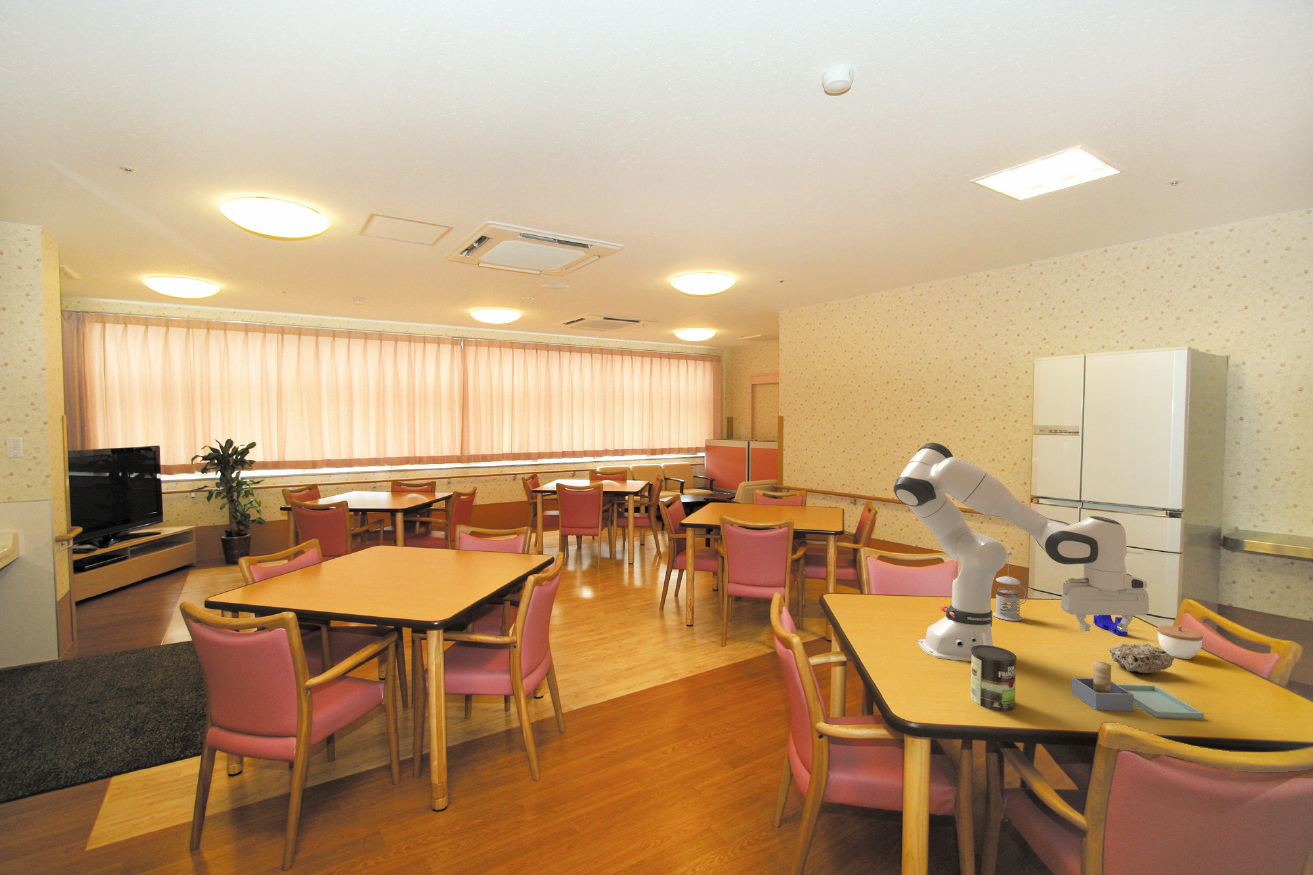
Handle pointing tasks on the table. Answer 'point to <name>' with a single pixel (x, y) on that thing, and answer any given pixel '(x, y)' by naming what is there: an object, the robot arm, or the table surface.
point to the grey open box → (1102, 696)
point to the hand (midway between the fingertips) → (1103, 630)
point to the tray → (1161, 703)
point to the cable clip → (1109, 623)
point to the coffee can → (993, 677)
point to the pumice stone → (1141, 657)
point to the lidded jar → (1179, 641)
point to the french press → (1008, 599)
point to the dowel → (1102, 677)
